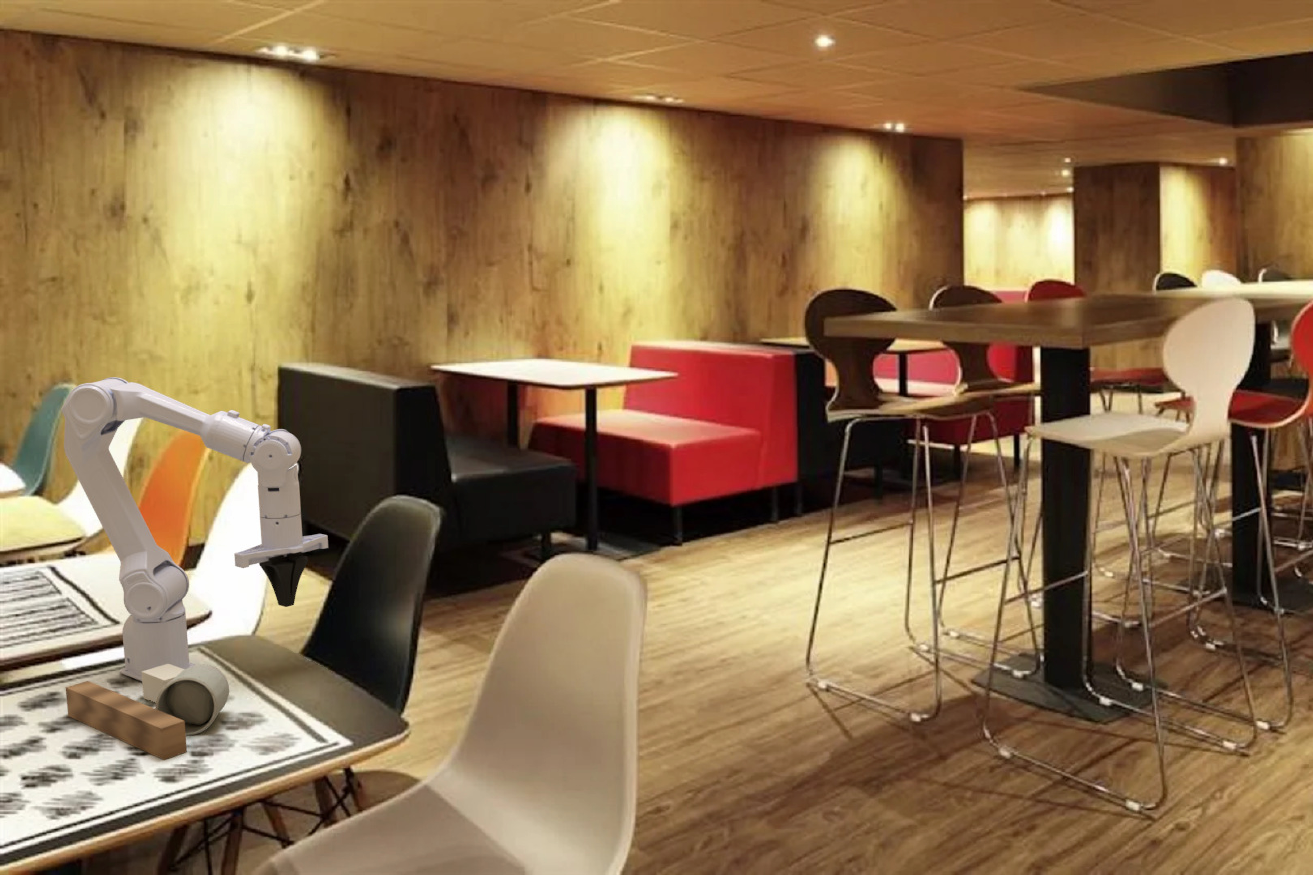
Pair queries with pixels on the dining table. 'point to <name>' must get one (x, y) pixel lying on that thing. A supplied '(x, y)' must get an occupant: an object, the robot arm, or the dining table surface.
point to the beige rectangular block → (158, 680)
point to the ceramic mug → (195, 697)
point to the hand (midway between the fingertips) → (286, 604)
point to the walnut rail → (127, 719)
